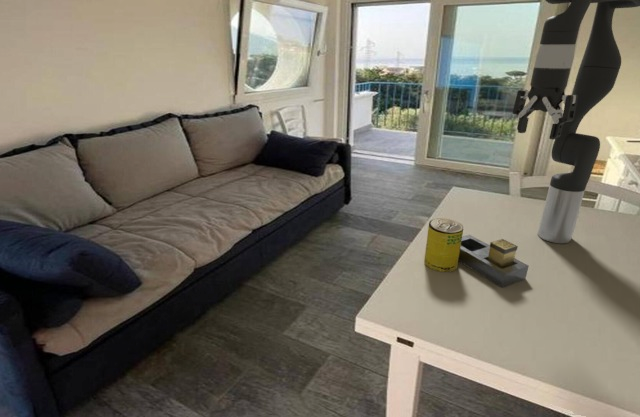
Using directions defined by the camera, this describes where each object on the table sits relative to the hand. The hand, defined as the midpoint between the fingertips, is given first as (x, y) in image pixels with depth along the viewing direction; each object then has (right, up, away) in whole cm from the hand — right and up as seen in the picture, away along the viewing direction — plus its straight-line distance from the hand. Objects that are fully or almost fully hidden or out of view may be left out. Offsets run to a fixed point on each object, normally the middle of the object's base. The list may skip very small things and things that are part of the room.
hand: (536, 135), depth 94 cm
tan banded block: (-6, -36, +8) cm, 37 cm away
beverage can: (-20, -34, +13) cm, 41 cm away
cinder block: (-8, -34, +12) cm, 37 cm away
